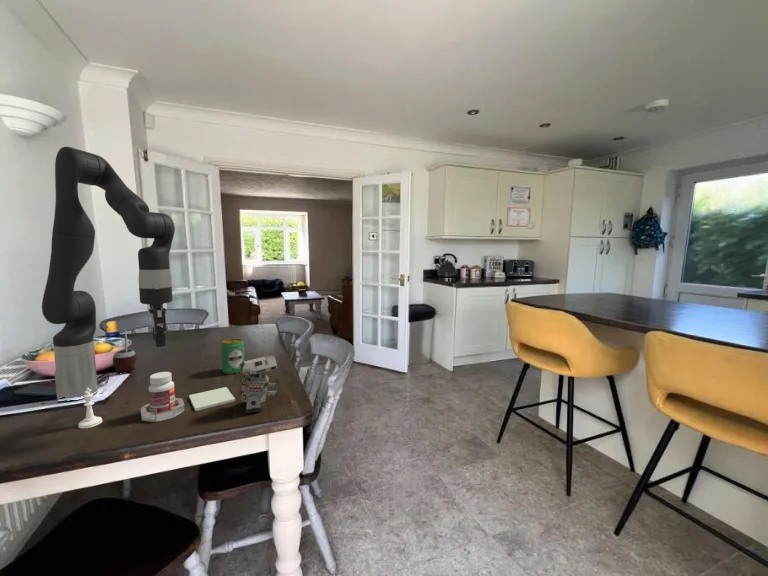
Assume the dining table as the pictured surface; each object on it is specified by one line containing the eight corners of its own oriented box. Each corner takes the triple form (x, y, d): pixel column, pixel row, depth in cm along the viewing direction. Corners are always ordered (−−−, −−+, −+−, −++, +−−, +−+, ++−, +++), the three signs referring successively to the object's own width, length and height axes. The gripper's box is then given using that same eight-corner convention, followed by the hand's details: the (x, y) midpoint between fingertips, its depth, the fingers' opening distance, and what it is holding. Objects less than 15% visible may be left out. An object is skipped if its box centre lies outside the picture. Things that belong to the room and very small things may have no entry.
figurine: (281, 409, 100) (280, 361, 98) (239, 415, 96) (238, 365, 94) (279, 396, 108) (278, 351, 106) (241, 401, 104) (239, 355, 102)
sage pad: (195, 411, 98) (195, 408, 97) (189, 397, 106) (189, 395, 106) (235, 401, 104) (235, 398, 104) (226, 389, 113) (226, 386, 113)
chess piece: (107, 419, 92) (104, 384, 91) (92, 428, 87) (89, 392, 86) (88, 418, 92) (85, 384, 91) (73, 428, 87) (69, 391, 86)
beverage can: (225, 376, 124) (224, 344, 123) (219, 369, 130) (218, 340, 129) (247, 371, 129) (246, 341, 128) (241, 365, 135) (240, 336, 134)
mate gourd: (122, 376, 122) (119, 336, 120) (107, 373, 124) (104, 334, 123) (142, 369, 129) (140, 331, 127) (128, 367, 131) (126, 329, 130)
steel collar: (142, 425, 89) (141, 418, 89) (140, 410, 97) (140, 403, 97) (186, 414, 96) (185, 407, 95) (181, 401, 104) (180, 395, 103)
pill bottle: (176, 414, 96) (174, 376, 94) (149, 420, 92) (147, 380, 91) (175, 405, 101) (173, 369, 99) (150, 410, 97) (148, 373, 96)
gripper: (137, 283, 95) (141, 339, 97) (140, 289, 84) (144, 351, 86) (168, 282, 100) (171, 335, 102) (175, 287, 89) (178, 346, 91)
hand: (159, 342), depth 94 cm, fingers open, 8 cm apart
